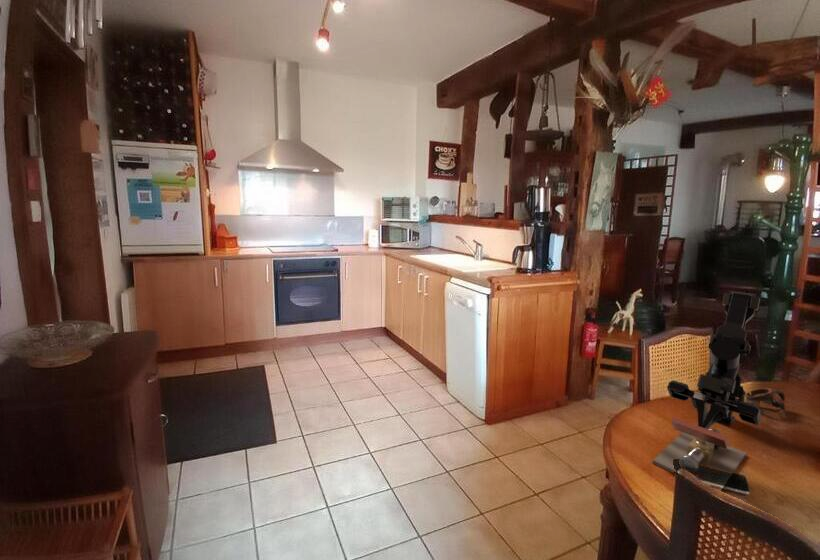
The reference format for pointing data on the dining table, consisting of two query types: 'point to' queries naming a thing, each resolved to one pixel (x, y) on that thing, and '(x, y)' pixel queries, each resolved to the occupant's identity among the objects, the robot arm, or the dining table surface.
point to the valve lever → (700, 433)
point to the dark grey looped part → (768, 399)
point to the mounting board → (721, 461)
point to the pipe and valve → (698, 455)
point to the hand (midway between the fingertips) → (700, 432)
